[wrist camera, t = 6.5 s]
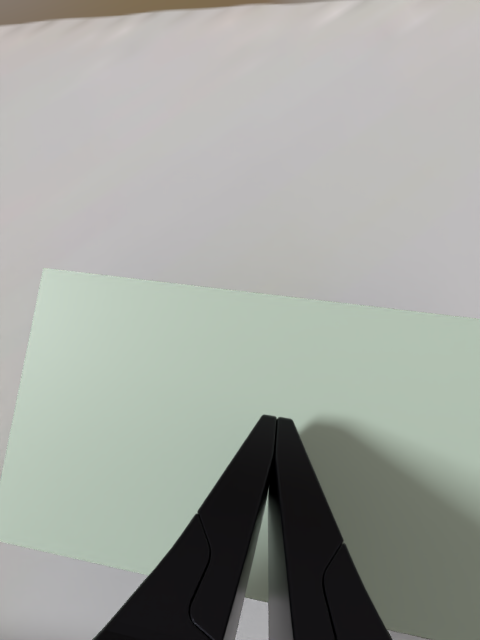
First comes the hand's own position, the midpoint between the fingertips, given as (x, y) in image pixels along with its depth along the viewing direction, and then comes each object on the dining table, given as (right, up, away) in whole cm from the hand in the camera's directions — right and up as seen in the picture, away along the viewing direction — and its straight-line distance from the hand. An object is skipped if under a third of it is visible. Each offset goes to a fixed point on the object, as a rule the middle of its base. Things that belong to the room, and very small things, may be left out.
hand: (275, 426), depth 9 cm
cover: (0, -1, +2) cm, 2 cm away
